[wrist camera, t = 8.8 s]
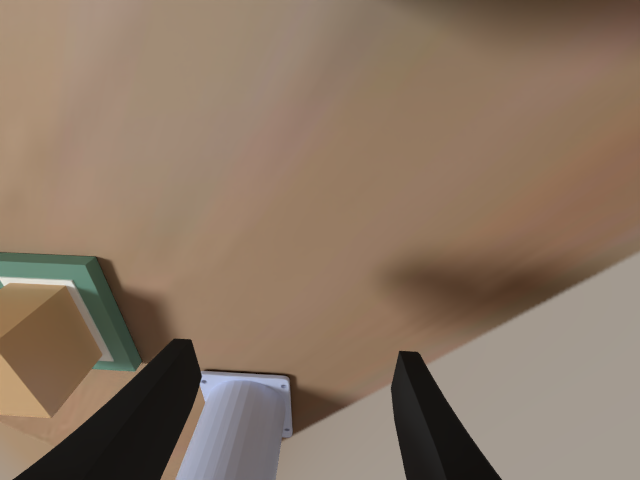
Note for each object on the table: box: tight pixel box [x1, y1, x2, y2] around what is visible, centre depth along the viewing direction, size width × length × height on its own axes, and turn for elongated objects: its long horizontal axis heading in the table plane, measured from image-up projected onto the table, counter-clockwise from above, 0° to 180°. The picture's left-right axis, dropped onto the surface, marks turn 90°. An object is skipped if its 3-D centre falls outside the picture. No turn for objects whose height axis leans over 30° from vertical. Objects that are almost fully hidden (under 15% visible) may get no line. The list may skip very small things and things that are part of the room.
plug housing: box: [0, 283, 103, 418], centre depth 20 cm, size 7×4×5 cm, turn 179°
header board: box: [0, 252, 142, 371], centre depth 22 cm, size 11×8×4 cm
